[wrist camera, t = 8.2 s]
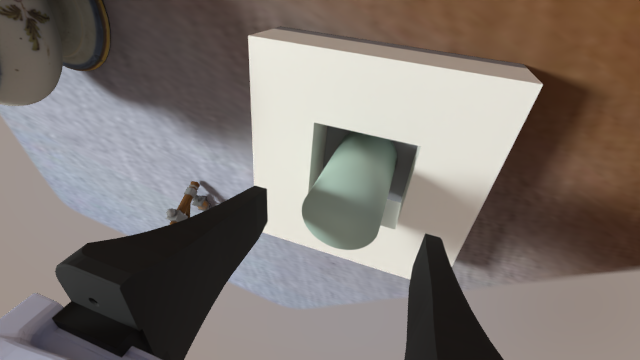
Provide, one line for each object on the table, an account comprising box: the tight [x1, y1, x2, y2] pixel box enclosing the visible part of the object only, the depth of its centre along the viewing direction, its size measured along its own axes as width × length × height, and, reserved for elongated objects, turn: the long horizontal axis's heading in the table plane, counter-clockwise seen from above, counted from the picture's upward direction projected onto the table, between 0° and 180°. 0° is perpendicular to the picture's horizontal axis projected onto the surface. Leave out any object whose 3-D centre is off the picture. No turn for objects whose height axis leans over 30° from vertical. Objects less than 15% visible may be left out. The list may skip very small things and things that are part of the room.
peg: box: [302, 131, 397, 250], centre depth 18 cm, size 4×4×7 cm
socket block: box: [248, 27, 543, 279], centre depth 20 cm, size 14×14×4 cm
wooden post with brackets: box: [166, 181, 210, 225], centre depth 30 cm, size 2×8×4 cm, turn 5°
